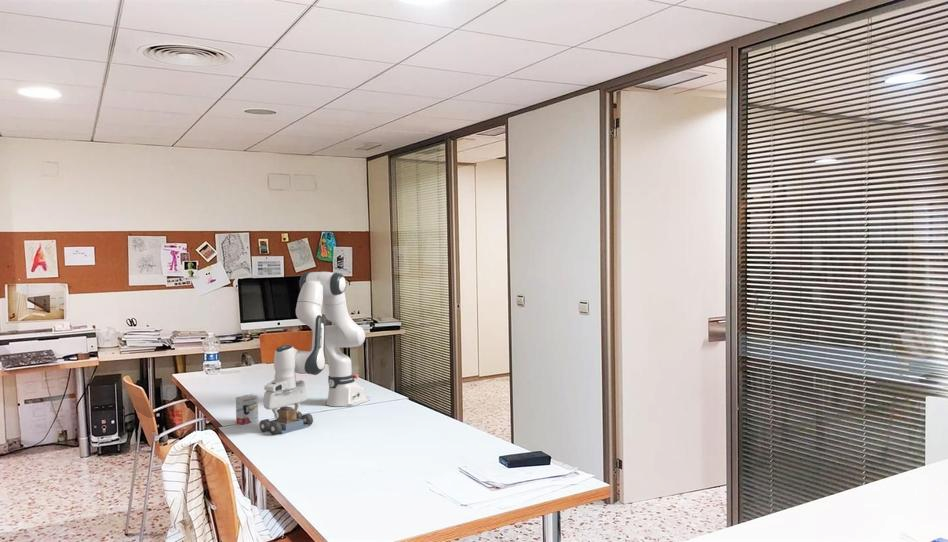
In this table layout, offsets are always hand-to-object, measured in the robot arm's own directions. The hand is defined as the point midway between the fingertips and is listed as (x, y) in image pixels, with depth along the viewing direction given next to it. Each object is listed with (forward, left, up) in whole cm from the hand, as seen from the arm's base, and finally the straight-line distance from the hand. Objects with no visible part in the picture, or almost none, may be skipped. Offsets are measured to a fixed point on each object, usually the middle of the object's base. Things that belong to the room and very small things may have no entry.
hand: (286, 415), depth 291 cm
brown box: (0, 0, -4) cm, 4 cm away
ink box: (+3, -24, -6) cm, 25 cm away
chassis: (0, 0, -6) cm, 6 cm away
